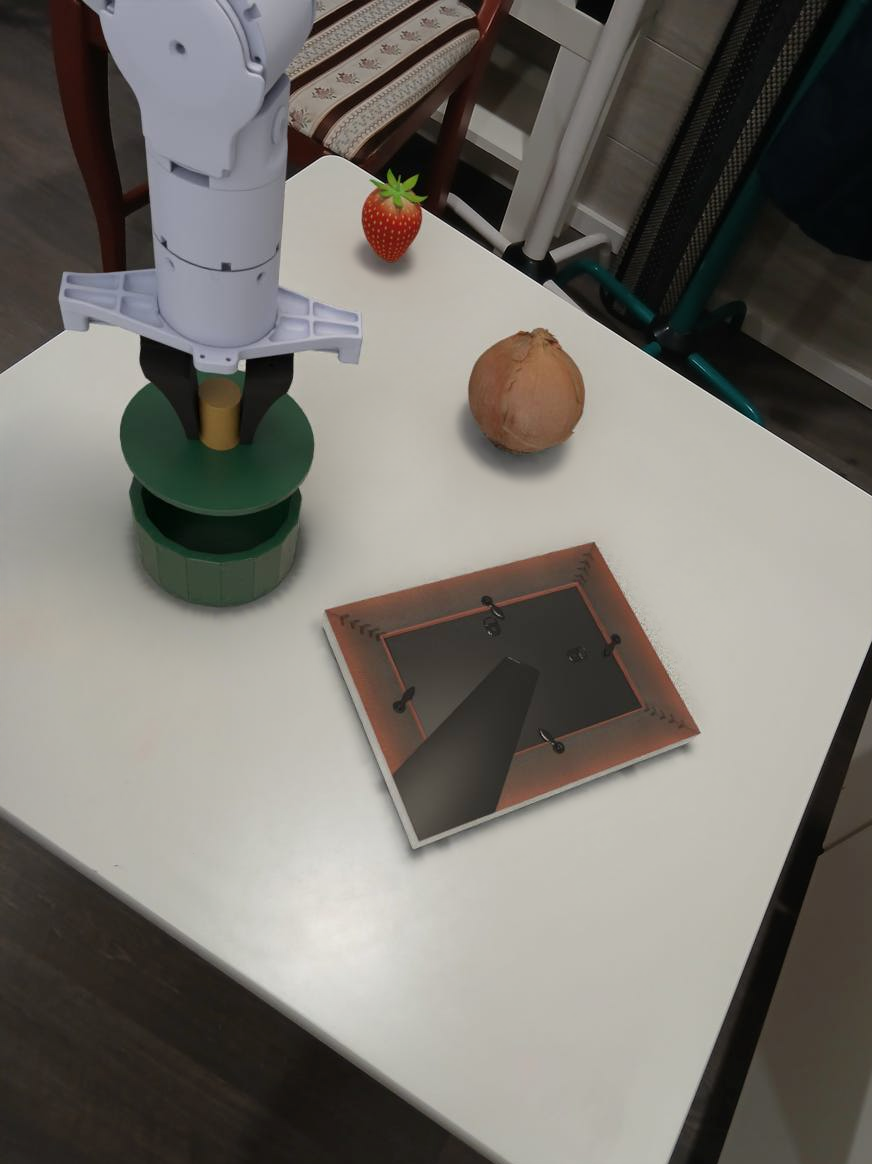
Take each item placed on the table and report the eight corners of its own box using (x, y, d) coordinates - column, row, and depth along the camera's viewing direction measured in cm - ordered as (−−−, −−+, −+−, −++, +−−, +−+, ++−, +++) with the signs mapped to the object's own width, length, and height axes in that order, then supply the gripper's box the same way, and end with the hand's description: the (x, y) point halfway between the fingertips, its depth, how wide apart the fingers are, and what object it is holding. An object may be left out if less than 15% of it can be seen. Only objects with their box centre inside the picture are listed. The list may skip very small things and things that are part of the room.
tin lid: (80, 462, 49) (67, 405, 45) (191, 352, 54) (188, 293, 50) (252, 553, 49) (254, 504, 45) (344, 433, 55) (354, 381, 51)
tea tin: (105, 559, 56) (94, 510, 51) (194, 459, 61) (192, 407, 57) (244, 632, 56) (246, 590, 51) (321, 526, 61) (329, 479, 57)
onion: (488, 421, 75) (513, 304, 69) (584, 457, 72) (618, 339, 66) (435, 446, 67) (459, 318, 62) (540, 488, 64) (575, 357, 59)
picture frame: (411, 852, 52) (686, 745, 60) (419, 841, 50) (702, 732, 58) (320, 625, 57) (583, 558, 66) (324, 607, 55) (595, 539, 64)
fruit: (404, 285, 76) (422, 205, 69) (349, 265, 75) (361, 182, 68) (418, 250, 78) (437, 169, 72) (365, 230, 78) (378, 147, 71)
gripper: (30, 263, 35) (79, 472, 46) (379, 311, 39) (343, 492, 50) (52, 157, 38) (92, 377, 50) (372, 212, 42) (340, 403, 54)
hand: (219, 429), depth 50 cm, fingers closed on tin lid, 2 cm apart
